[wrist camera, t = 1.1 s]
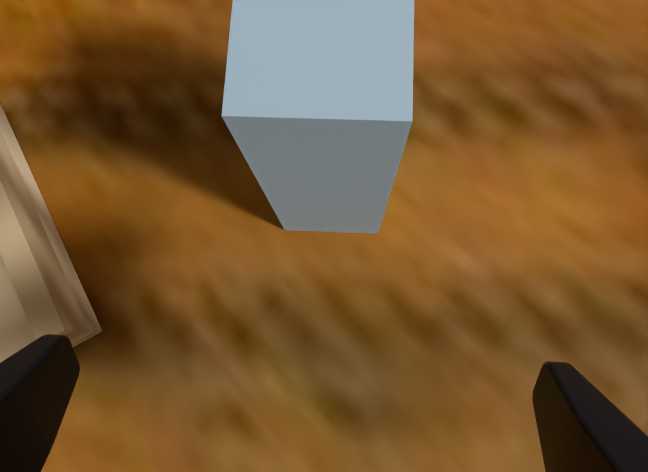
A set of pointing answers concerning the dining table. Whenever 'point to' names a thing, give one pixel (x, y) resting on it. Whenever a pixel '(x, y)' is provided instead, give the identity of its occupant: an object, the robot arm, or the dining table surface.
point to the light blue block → (321, 105)
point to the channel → (34, 262)
